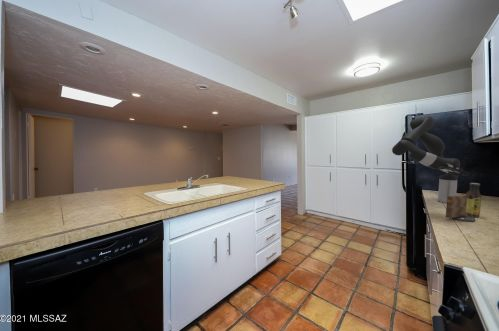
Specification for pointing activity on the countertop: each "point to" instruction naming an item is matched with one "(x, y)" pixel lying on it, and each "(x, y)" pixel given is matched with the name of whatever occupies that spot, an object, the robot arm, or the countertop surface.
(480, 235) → the countertop surface
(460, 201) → the brown wooden block
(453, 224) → the countertop surface
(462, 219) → the base
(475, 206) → the sauce bottle
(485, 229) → the countertop surface
